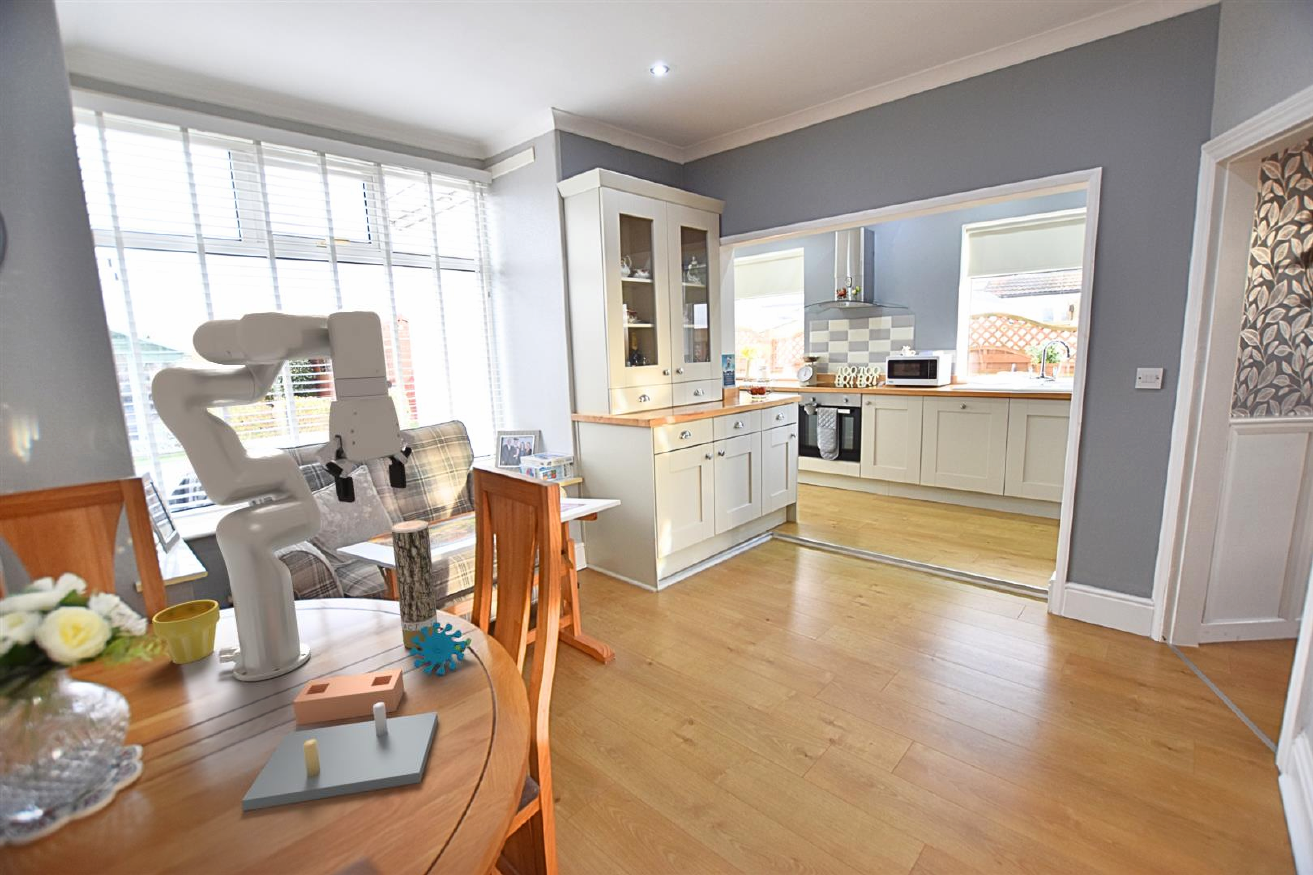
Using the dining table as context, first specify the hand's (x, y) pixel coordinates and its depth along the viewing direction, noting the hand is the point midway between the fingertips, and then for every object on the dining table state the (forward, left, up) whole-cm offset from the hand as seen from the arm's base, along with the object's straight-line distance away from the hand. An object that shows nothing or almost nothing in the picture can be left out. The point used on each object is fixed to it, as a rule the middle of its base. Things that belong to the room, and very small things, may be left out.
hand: (374, 494), depth 94 cm
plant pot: (-45, +27, -37) cm, 64 cm away
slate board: (-3, -15, -36) cm, 39 cm away
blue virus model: (+6, +10, -37) cm, 38 cm away
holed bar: (-7, 0, -36) cm, 37 cm away
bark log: (0, +21, -37) cm, 42 cm away
